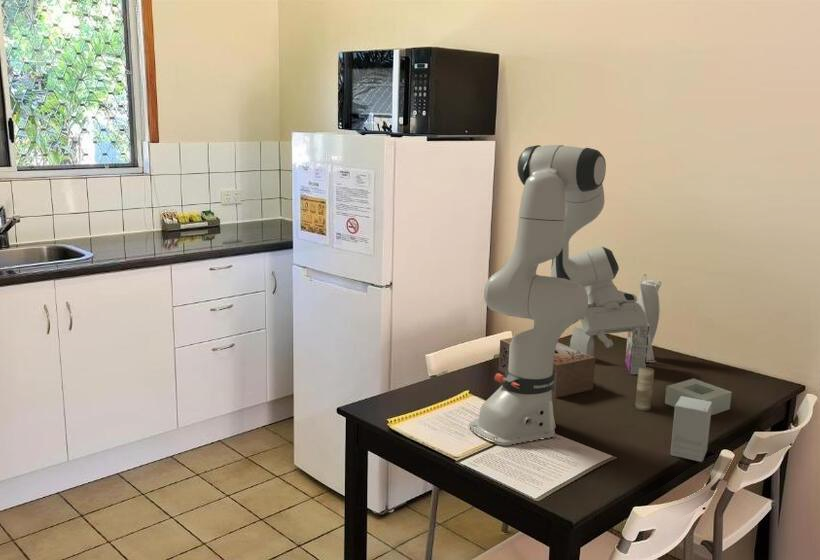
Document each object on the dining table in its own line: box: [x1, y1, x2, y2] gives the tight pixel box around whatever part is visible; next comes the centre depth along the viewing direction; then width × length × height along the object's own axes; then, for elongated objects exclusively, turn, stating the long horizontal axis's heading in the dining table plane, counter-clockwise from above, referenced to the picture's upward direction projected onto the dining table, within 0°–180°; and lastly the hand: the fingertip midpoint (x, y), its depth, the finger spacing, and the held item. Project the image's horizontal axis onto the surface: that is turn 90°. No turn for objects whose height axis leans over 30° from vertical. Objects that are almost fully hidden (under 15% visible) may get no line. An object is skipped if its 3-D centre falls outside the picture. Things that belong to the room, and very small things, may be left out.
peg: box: [634, 366, 655, 412], centre depth 199 cm, size 4×4×11 cm
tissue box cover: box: [498, 337, 596, 399], centre depth 219 cm, size 26×14×10 cm, turn 31°
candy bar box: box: [624, 324, 649, 376], centre depth 229 cm, size 11×5×16 cm, turn 171°
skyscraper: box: [636, 273, 662, 363], centre depth 239 cm, size 8×8×28 cm
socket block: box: [664, 378, 733, 416], centre depth 202 cm, size 12×12×5 cm
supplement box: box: [670, 396, 712, 463], centre depth 173 cm, size 7×7×13 cm
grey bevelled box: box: [569, 326, 595, 357], centre depth 239 cm, size 4×7×10 cm, turn 38°
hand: (624, 345), depth 206 cm, fingers open, 8 cm apart
